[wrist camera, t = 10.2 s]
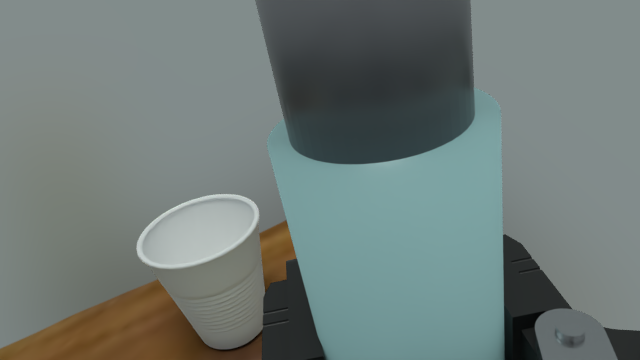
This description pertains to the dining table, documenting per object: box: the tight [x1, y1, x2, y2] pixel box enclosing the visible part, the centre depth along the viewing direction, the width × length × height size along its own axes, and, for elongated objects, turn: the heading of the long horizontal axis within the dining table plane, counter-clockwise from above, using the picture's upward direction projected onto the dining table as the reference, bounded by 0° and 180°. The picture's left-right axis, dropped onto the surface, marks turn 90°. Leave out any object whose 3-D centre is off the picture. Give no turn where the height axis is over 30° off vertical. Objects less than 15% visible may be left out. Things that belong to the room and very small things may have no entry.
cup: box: [136, 194, 265, 349], centre depth 41 cm, size 10×10×11 cm
